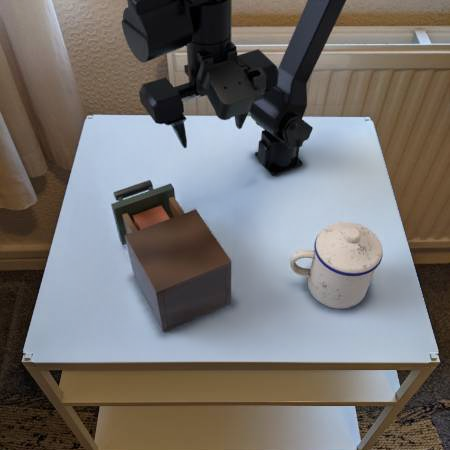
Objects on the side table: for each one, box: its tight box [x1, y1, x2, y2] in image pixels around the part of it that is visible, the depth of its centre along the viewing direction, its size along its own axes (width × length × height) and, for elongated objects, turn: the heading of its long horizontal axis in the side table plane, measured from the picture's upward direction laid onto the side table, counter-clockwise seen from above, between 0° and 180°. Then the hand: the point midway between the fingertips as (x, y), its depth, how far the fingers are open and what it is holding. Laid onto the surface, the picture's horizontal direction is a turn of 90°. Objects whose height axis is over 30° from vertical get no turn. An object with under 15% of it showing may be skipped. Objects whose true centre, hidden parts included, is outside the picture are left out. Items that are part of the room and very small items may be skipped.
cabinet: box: [125, 208, 233, 333], centre depth 70 cm, size 11×11×10 cm
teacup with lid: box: [289, 221, 384, 310], centre depth 70 cm, size 12×9×12 cm
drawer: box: [110, 179, 185, 246], centre depth 75 cm, size 14×9×8 cm, turn 28°
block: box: [133, 206, 170, 230], centre depth 74 cm, size 5×5×5 cm
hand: (211, 136), depth 75 cm, fingers open, 9 cm apart
